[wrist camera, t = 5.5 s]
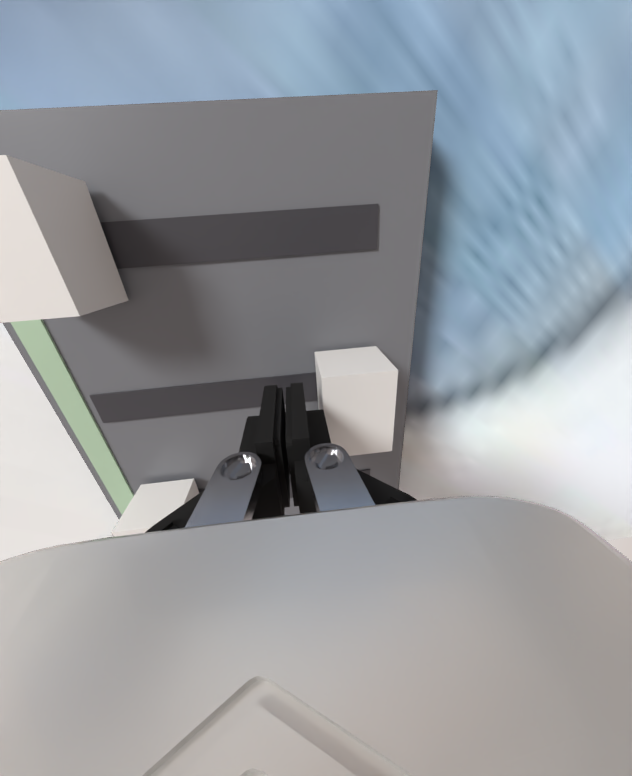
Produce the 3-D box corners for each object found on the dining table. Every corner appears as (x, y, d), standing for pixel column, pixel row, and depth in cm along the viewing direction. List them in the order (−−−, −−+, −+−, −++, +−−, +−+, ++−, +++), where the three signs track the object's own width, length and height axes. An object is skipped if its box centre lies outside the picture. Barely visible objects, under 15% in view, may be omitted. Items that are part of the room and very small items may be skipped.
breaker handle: (375, 345, 13) (398, 370, 11) (373, 415, 15) (392, 451, 12) (314, 351, 13) (321, 377, 10) (319, 421, 15) (326, 458, 12)
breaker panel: (413, 115, 11) (504, 19, 7) (386, 493, 21) (414, 562, 17) (-51, 138, 10) (-333, 45, 6) (150, 523, 20) (108, 605, 16)
